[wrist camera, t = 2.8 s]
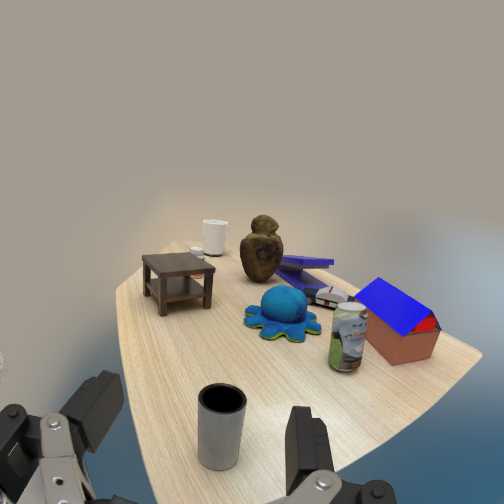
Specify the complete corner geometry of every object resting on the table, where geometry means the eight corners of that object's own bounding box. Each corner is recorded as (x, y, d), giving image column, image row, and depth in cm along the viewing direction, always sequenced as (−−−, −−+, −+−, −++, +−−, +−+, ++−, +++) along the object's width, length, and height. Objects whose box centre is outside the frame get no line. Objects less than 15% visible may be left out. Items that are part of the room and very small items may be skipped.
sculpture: (274, 277, 94) (283, 215, 89) (282, 286, 86) (292, 219, 82) (234, 275, 91) (240, 211, 87) (238, 285, 83) (245, 215, 79)
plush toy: (244, 303, 71) (248, 271, 69) (311, 309, 72) (317, 279, 70) (242, 338, 55) (246, 299, 53) (326, 344, 55) (335, 307, 54)
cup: (196, 251, 114) (198, 219, 111) (218, 250, 119) (221, 219, 116) (205, 258, 106) (208, 223, 103) (229, 257, 111) (233, 224, 108)
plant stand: (159, 317, 58) (160, 272, 56) (141, 294, 68) (141, 255, 66) (212, 308, 66) (215, 267, 64) (188, 288, 76) (190, 252, 74)
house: (385, 319, 69) (396, 277, 66) (431, 358, 50) (450, 309, 47) (347, 321, 67) (358, 276, 64) (391, 366, 48) (411, 312, 45)
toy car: (300, 295, 81) (303, 279, 79) (355, 309, 75) (360, 292, 73) (295, 301, 76) (298, 284, 75) (354, 316, 70) (359, 298, 69)
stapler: (301, 293, 82) (307, 260, 80) (263, 264, 107) (266, 238, 105) (333, 291, 86) (339, 261, 84) (290, 264, 111) (294, 239, 109)
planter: (231, 440, 30) (239, 380, 27) (242, 468, 26) (253, 410, 23) (194, 444, 28) (194, 384, 26) (202, 473, 24) (203, 416, 22)
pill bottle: (206, 277, 86) (208, 250, 84) (191, 279, 83) (193, 251, 81) (198, 272, 90) (200, 246, 88) (185, 273, 87) (186, 247, 85)
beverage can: (350, 380, 44) (370, 318, 41) (314, 364, 48) (329, 303, 45) (363, 364, 49) (381, 307, 46) (330, 351, 53) (344, 294, 50)
